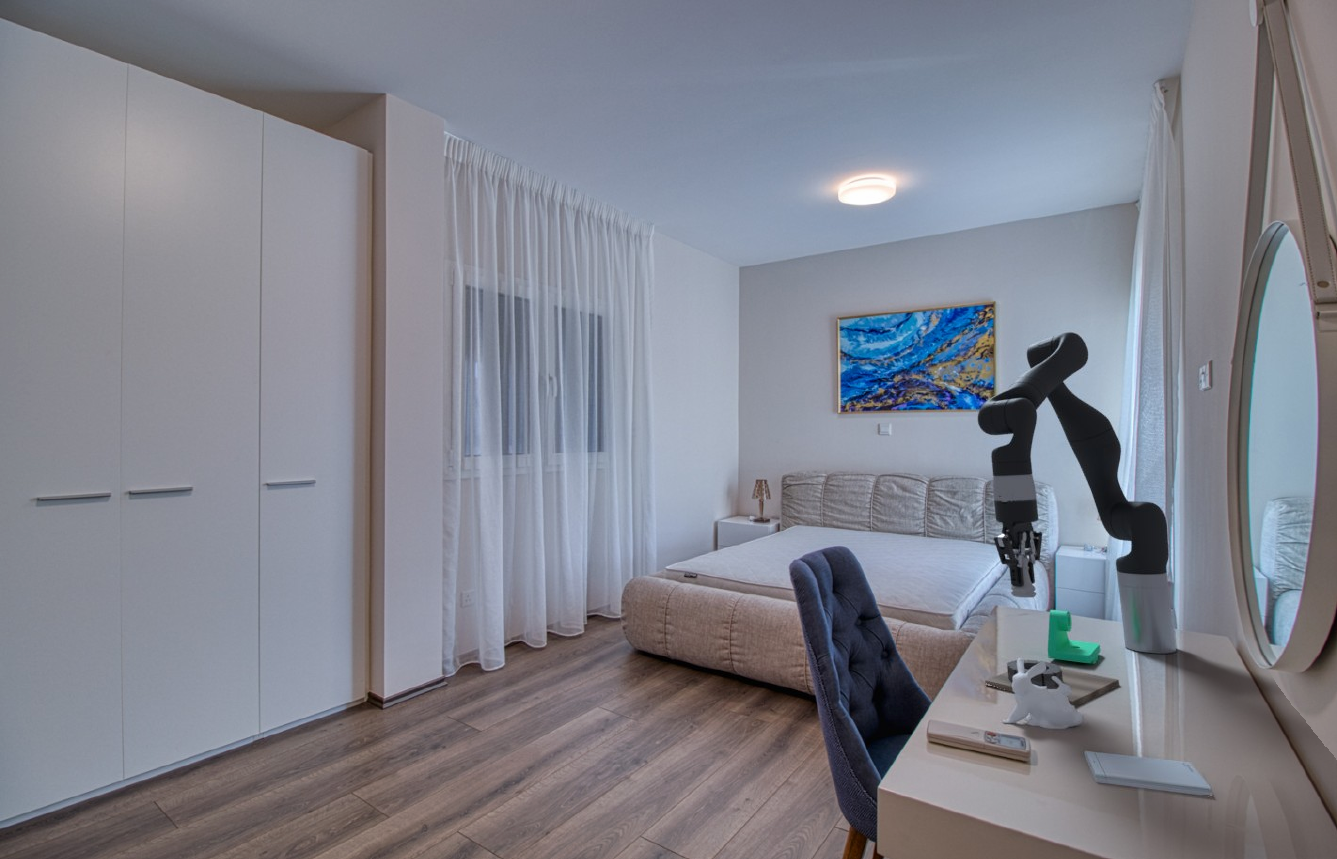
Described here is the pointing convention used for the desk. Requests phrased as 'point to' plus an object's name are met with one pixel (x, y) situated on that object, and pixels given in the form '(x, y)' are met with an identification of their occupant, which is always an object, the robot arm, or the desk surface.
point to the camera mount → (1068, 641)
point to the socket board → (1073, 681)
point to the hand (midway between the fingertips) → (1023, 584)
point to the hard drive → (1147, 773)
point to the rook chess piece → (1028, 587)
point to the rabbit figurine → (1042, 701)
